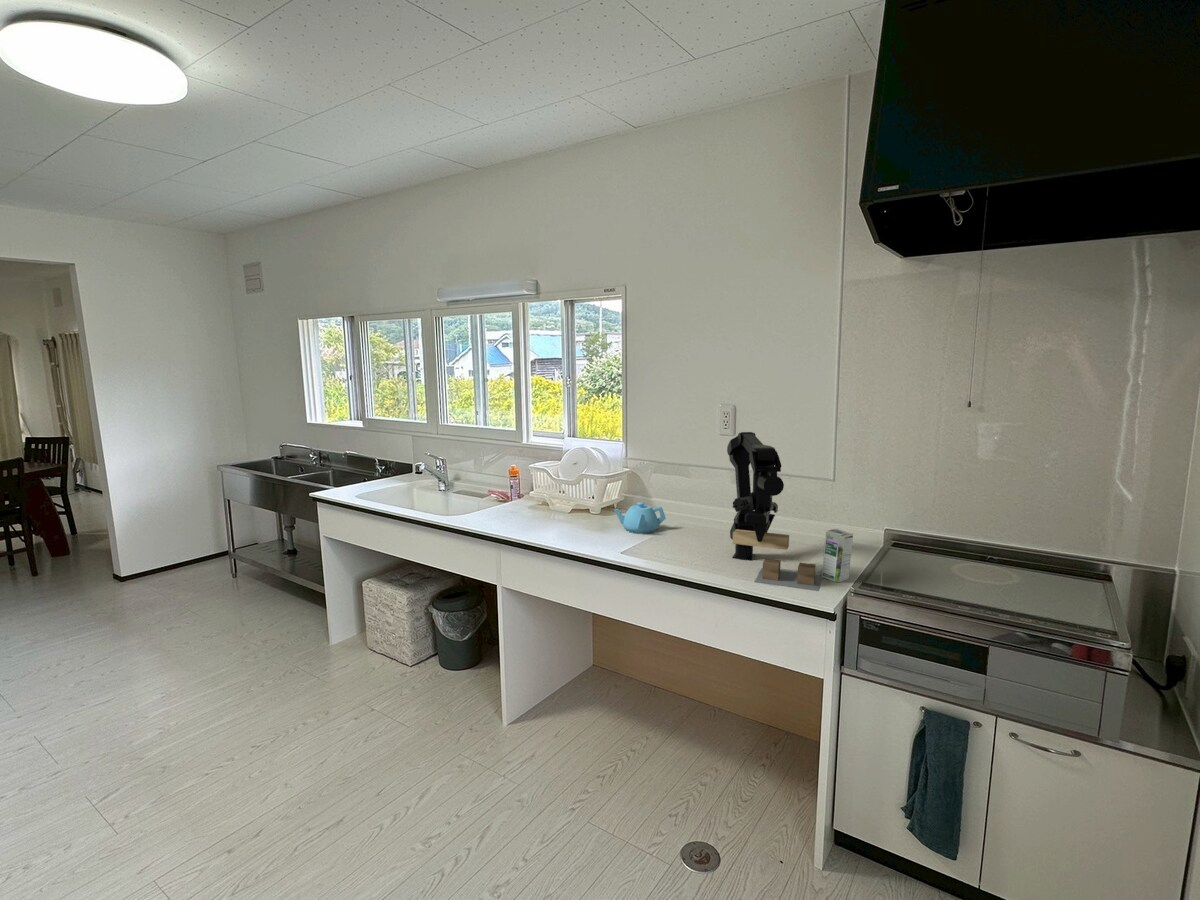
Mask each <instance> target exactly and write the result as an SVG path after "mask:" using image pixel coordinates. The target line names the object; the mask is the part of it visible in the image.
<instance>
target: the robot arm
mask: <svg viewBox="0 0 1200 900" xmlns="http://www.w3.org/2000/svg"><path fill="white" fill-rule="evenodd" d="M726 447H727V448H726V449H727V450H726V453H727V455H728V458H729V462H730V463H731V465H732V466H733V467H734V470H735V471H734V472H735V473H734V474H735V485H736V487H735V488H736V498H734V500H733V501H732V508H733V509H734V510H735V512H736V514H735V516H734V518H733V523H732V525H731V528H730V530H729V535H730V536H729V537H730V539H731V540H732V541H733V532H734V531H735V530H736V529H738V530H747V531H755V533H756V537H757V541H758V542H762V539H763V537H764V534H765V532H766V533H769V532H768V531H769V529H770V528H771V525H772V522H773V521H774V519H775V517H776V515H775V513H776V514H777V513H778V512H779V511H778V509H779V505H778V504H777V502H775V501H773V496H774V497H775V496H778V495H780V494H781V493H782V492H783V491H784V487H785V485H784V481H783V479H782V478H781V477H780V476H778V473H782V472H781V471H782V469H781V468H782V462H781V459H780V457H779V454H778V451H777V450H776V447H773V446H772V445H767V444H764V443H763V442H762V441H761V440H760V439H759V438H758V437H757V436H756V432H753V431H741V432H739V433H738V434H737V436H735V437H732V439H730V440H729V442H728V444H727V446H726ZM750 466H751V469H752V472H753V473H752V490H751V476H750V475H751V474H750ZM751 491H752V492H751ZM772 511H773V512H774V514H772V513H771V512H772ZM734 545H735V550H734V551H735V552H734V554H733V555H732V559H734V560H736V559H737V560H744V561H753V560H754V558H755V557H756V553H754V546H749V545H740V544H734Z"/></svg>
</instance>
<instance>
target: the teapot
mask: <svg viewBox="0 0 1200 900" xmlns="http://www.w3.org/2000/svg"><path fill="white" fill-rule="evenodd" d="M613 510H614V512H615V514H616V516H617V517H618V520H619V522H620V523H621V526H623V528H624V530H625V531H626V532H628V531H629V533H631V532H633V533H632V534H640V533H643V534H650V532H651V533H653V531H654V532H656V530H657V529H658V527H659V525H661V524H662V523H663V522H664V521H665V520H666V519H667V518H666V515H665V512H664V509H663V506H659V507H653V508H652V506H650V505H646V504H645V502H641V501H639V502H636V504H634V505H631V506H629V507H628V510H627V511H626V513H625V515H623V514H622V512H621V511H620V510H619V508H614V509H613ZM656 512H659V517H658V516H657V514H656Z"/></svg>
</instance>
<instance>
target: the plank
mask: <svg viewBox="0 0 1200 900" xmlns="http://www.w3.org/2000/svg"><path fill="white" fill-rule="evenodd" d="M732 544H733V545H735V544H740V545H749V546H753V547H759V548H768V549H777V550H785V551H787V550H788V549H789V547H790V534H784V533H774V532H767V533H766V532H765V534H764V537H763V539H762V542H758V541H757V537H756V533H755V531H747V530H738V529H736V530H735V531H734V532H733V540H732Z"/></svg>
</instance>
